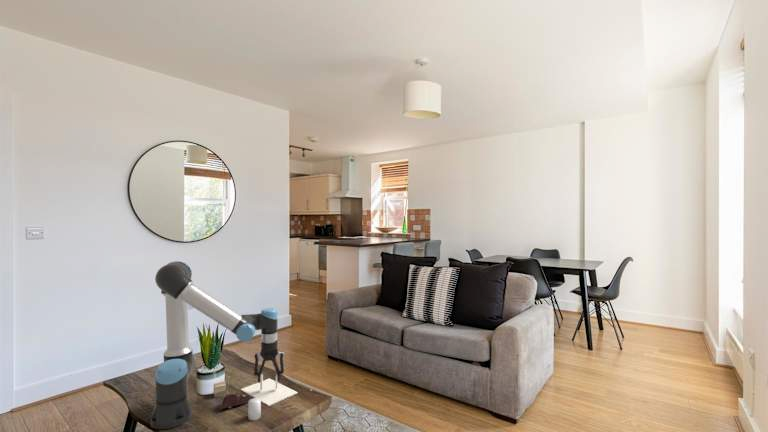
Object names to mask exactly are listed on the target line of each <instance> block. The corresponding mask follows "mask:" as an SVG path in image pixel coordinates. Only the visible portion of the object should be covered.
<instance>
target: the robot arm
mask: <svg viewBox="0 0 768 432" xmlns="http://www.w3.org/2000/svg"><path fill="white" fill-rule="evenodd" d="M192 276H193V273H192V268H191V266H190V265H189V264H187V263H186V262H183V261H179V260H178V261H171V262H168V264H166V265H163V266H161V267H160V268H159V269H158V270H157V272H156V274H155V279H154V280H155V284H156V285H157V287H158V289H160V290H161V294H162V296H164V297H165V298H164V299H165V320H166V346H167V349H166V350H165V351H164V353H163V362H161V363H160V364H158V365H157V367H156V368H155V374H154V379H155V384H154V385H155V389H154V390H155V405H154V408H153V411H152V413H151V415H150V420H149V422H150V427H151V428H152V429H155V430H167V429H173V428H176V427H179V426H181V425H183V424H185V423H187V422H188V421H189V420H190V419H191V418H192V415H193V414H192V413H193V411H192V406H191V405H190V402H189V399H188V382H189V378H190V376H191V374H192V372H193V371H194V369H195V366H196V365H195V363H196V360H195V356H194V354H193V353H194V352H193V347H192V346H190V344H189V343H190V342H189V318H188V317H189V315H188V312H189V311H188V305H189V306H191V307H192V308H193V309H195V310H196V311H199V312H200V313H201V314H203V315H204V316H206V317H208V319H209V318H210V319H211V320H212V321H214V322H216V323H217V324H219V325H220V326H222V327H223V328H225V329H226V330H228V331H230V332H231V333H233V334H234V335H236V338H237V340H239V341H240V342H242V343H243V342H245V343H247V342H249V341H251V340H252V339H253V338H254V335H255V334H256V331H259V330H261V333H260V337H261V338H260V341H261V342H260V343H261V344H260V345H261V346H260V347H261V348H260V352H256V353H254V355H253V356H254V370H253V375H254V376H257V383H260V390H262V388H263V381H264V374H263V373H262V372H263V370H264V367H265V364H266V362H268V361H269V362H272V364H273V367H274V369H275V373H276V374H275V381H276V389H277V388H278V383H279V382H280V380H281V375H282V374H284V372H285V364H284V353H285V352H284V351H279V349H278V320H279V318H278V310H277V309H276V308H274V307H267V308H263V309H261V312H260V313H255V314H254V313H252V314H239V313H238V312H236V311H234V310H233V309H231V308H230V307H228V306H227V305H225V304H224V303H223V302H221V301H220V300H218V299H216V298H215V297H213V296H212V295H211V294H209V293H207V292H206V291H205V290H203V289H201V288H200V287H198V286H197V285H195V284H194V281H193V279H192ZM277 356H278V357H279V365H280V367H279V365H278V362H277ZM260 357H261V358H262V359H263V360H262V362H261V365H260V368H259V362H260V361H259V360H260ZM258 370H259V371H258Z"/></svg>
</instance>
